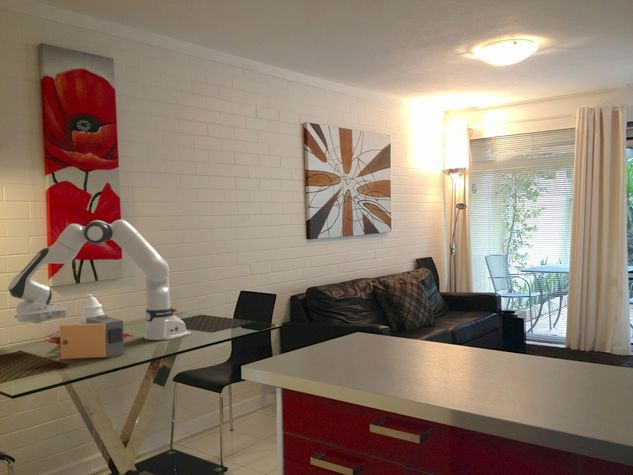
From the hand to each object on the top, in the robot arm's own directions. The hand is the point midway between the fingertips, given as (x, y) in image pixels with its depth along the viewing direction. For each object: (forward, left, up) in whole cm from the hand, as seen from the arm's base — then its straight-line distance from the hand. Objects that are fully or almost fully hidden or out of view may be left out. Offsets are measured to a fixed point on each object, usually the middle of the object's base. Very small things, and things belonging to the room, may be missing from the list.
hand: (49, 317), depth 263 cm
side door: (-5, +22, -15) cm, 27 cm away
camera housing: (-17, +17, -16) cm, 29 cm away
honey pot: (-40, -43, -17) cm, 61 cm away
